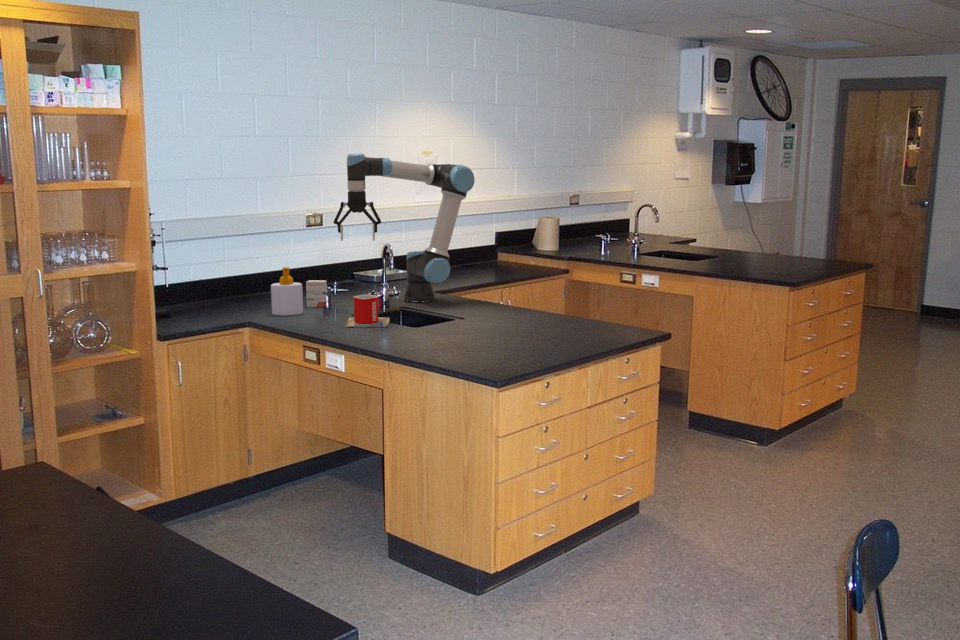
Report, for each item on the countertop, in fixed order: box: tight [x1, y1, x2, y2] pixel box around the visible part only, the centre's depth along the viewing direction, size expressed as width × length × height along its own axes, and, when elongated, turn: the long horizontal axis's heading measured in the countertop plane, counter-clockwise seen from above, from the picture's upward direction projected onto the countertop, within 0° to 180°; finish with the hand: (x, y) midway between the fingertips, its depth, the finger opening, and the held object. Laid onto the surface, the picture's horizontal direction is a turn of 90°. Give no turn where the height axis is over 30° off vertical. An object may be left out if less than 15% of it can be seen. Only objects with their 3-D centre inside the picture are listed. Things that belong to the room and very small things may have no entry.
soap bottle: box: [270, 266, 304, 317], centre depth 403 cm, size 13×8×20 cm, turn 102°
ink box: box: [305, 279, 328, 308], centre depth 421 cm, size 9×5×12 cm, turn 84°
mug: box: [353, 294, 382, 324], centre depth 386 cm, size 12×8×11 cm
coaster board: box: [345, 316, 391, 328], centre depth 387 cm, size 17×17×1 cm
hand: (357, 240), depth 402 cm, fingers open, 13 cm apart
